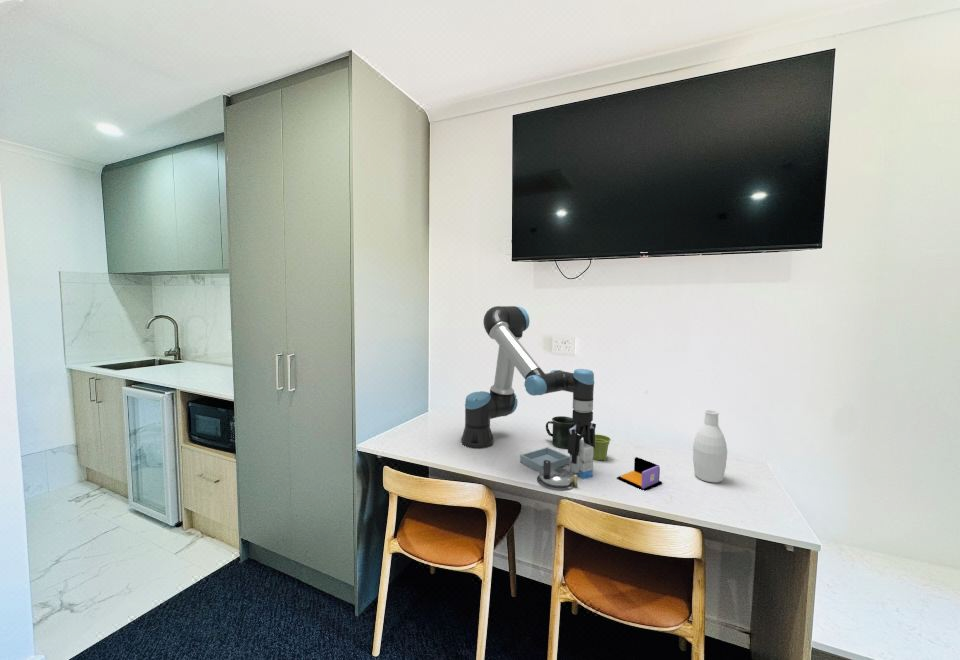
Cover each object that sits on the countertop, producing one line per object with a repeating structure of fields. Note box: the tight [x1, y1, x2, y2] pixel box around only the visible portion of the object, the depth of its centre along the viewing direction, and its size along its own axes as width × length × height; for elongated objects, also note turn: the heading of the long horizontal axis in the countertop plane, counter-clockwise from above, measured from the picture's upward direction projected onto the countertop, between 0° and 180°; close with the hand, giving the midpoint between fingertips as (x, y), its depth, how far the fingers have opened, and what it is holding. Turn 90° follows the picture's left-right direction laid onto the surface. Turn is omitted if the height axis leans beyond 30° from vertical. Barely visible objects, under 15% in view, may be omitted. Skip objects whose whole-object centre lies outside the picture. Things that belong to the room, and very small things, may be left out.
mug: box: [545, 415, 574, 450], centre depth 173 cm, size 11×15×12 cm
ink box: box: [569, 438, 594, 480], centre depth 143 cm, size 8×5×15 cm, turn 23°
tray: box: [519, 446, 570, 474], centre depth 151 cm, size 13×16×4 cm
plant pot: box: [591, 433, 612, 461], centre depth 158 cm, size 9×9×9 cm
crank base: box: [536, 473, 579, 492], centre depth 135 cm, size 14×14×5 cm
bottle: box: [692, 409, 728, 484], centre depth 141 cm, size 11×11×25 cm
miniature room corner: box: [616, 456, 663, 492], centre depth 138 cm, size 12×12×7 cm
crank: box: [539, 460, 574, 488], centre depth 135 cm, size 12×12×8 cm
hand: (580, 469), depth 143 cm, fingers closed on ink box, 5 cm apart
